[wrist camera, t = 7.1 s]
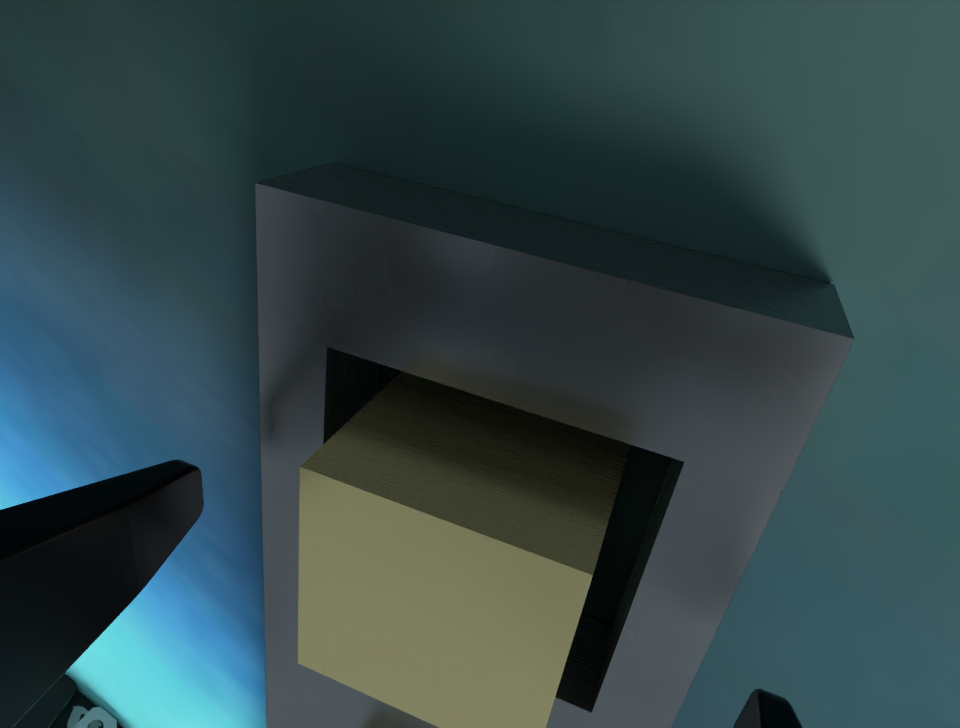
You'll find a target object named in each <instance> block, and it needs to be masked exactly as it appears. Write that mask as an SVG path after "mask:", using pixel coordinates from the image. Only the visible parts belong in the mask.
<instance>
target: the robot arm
mask: <svg viewBox="0 0 960 728" xmlns="http://www.w3.org/2000/svg"><path fill="white" fill-rule="evenodd" d="M203 504H204V502H203V489H202V476H201V471H200V470H199V468H198V467H197V466H194V465H192V464H189V463H187V462H184V461H182V460H172V461H168V462H165V463H161V464H158V465H154V466H151V467H147V468H144V469H140V470H137V471H133V472H130V473H127V474H123V475H120V476H116V477H113V478H109V479H106V480H102V481H99V482H95V483H92V484H89V485H85V486H82V487H78V488H75V489H71V490H68V491H64V492H61V493H57V494H54V495H50V496H47V497H44V498H40V499H37V500H33V501H30V502H26V503H23V504H19V505H16V506H12V507H9V508H5V509H2V510H0V728H13V727H14V726H15V725H16V724H17V723H18V721H19V720H20V719H21V718H22V717H23V716H24V715H25V714H26V713H27V712H28V711H29V710H30V709H31V708H32V707H33V706H34V705H35V703H36V702H37V701H38V700H39V699H40V698H41V697H42V696H43V695H44V694H45V693H46V692H47V691H48V690H49V689H50V688H51V687H52V686H53V684H54V683H55V682H56V681H57V680H58V679H59V678H60V677H61V676H62V675H63V674H64V673H65V672H66V671H67V670H68V669H69V668H70V666H71V665H72V664H73V663H74V662H75V661H76V660H77V659H78V658H79V657H80V656H81V655H82V654H83V653H84V652H85V651H86V650H87V649H88V647H89V646H90V645H91V644H92V643H93V642H94V641H95V640H96V639H97V638H98V637H99V636H100V635H101V634H102V633H103V632H104V631H105V629H106V628H107V627H108V626H109V625H110V624H111V623H112V622H113V621H114V620H115V619H116V618H117V617H118V616H119V615H120V614H121V613H122V611H123V610H124V609H125V608H126V607H127V606H128V605H129V604H130V603H131V602H132V601H133V600H134V599H135V597H136V596H137V595H138V594H139V593H140V592H141V591H142V589H143V588H144V587H145V586H146V585H147V583H148V582H149V581H150V580H151V579H152V577H153V576H154V575H155V573H156V572H157V571H158V570H159V568H160V567H161V566H162V564H163V563H164V562H165V561H166V559H167V558H168V557H169V555H170V554H171V553H172V552H173V550H174V549H175V548H176V547H177V545H178V544H179V543H180V541H181V540H182V539H183V538H184V536H185V535H186V534H187V532H188V531H189V530H190V529H191V527H192V526H193V525H194V523H195V522H196V521H197V520H198V518H199V516H200V515H201V512H202V510H203ZM733 728H802V726H801V724H800V722H799V720H798V718H797V716H796V714H795V712H794V710H793V708H792V706H791V704H790V703H789V702H788V701H787V700H786V699H785V698H783V697H780V696H778V695H775V694H773V693H770V692H767V691H765V690H762V689H755V690H754V691H753V692H752V693H751V695H750V697H749V699H748V700H747V702H746V704H745V706H744V708H743V710H742V711H741V713H740V715H739V717H738V719H737V721H736V722H735V725H734V727H733Z"/></svg>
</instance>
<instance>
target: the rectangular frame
mask: <svg viewBox="0 0 960 728" xmlns="http://www.w3.org/2000/svg"><path fill="white" fill-rule="evenodd" d="M255 198H256V245H257V293H258V340H259V388H260V435H261V483H262V530H263V577H264V625H265V672H266V720H267V728H439V727H437V726H434V725H432V724H430V723H428V722H426V721H423V720H421V719H419V718H417V717H415V716H412V715H410V714H408V713H406V712H404V711H402V710H399V709H397V708H395V707H393V706H391V705H388V704H386V703H384V702H382V701H380V700H377V699H375V698H373V697H371V696H369V695H366V694H364V693H362V692H360V691H358V690H355V689H353V688H351V687H349V686H347V685H345V684H342V683H340V682H338V681H336V680H334V679H331V678H329V677H327V676H325V675H323V674H320V673H318V672H316V671H314V670H312V669H309V668H307V667H305V666H303V665H301V664H298V593H299V491H300V466H301V465H302V464H303V463H304V462H305V461H306V460H307V459H308V458H310V457H311V456H312V455H313V454H314V453H315V452H316V451H317V450H318V449H319V448H320V447H321V446H322V445H323V444H325V443H326V442H327V441H328V440H329V439H330V438H331V437H332V436H333V435H334V434H335V433H336V432H337V431H338V430H339V429H341V428H342V427H343V426H344V425H345V424H346V423H347V422H348V421H349V420H350V419H351V418H352V417H353V416H354V415H356V414H357V413H358V412H359V411H360V410H361V409H362V408H363V407H364V406H365V405H366V404H367V403H368V402H369V401H371V400H372V399H373V398H374V397H375V396H376V395H377V394H378V393H379V392H380V384H381V372H382V365H385V366H388V367H391V368H394V369H397V370H401V371H404V372H407V373H410V374H413V375H416V376H419V377H422V378H425V379H428V380H432V381H435V382H438V383H441V384H444V385H447V386H450V387H453V388H456V389H460V390H463V391H466V392H469V393H472V394H475V395H478V396H481V397H484V398H488V399H491V400H494V401H497V402H500V403H503V404H506V405H509V406H512V407H515V408H519V409H522V410H525V411H528V412H531V413H534V414H537V415H540V416H543V417H547V418H550V419H553V420H556V421H559V422H562V423H565V424H568V425H571V426H575V427H578V428H581V429H584V430H587V431H590V432H593V433H596V434H599V435H603V436H606V437H609V438H612V439H615V440H618V441H621V442H624V443H627V444H630V445H634V446H637V447H640V448H643V449H646V450H649V451H652V452H655V453H658V454H662V455H665V456H668V457H671V458H672V460H671V462H670V465H669V468H668V471H667V474H666V476H665V479H664V482H663V485H662V488H661V490H660V493H659V496H658V499H657V502H656V504H655V507H654V510H653V513H652V516H651V518H650V521H649V524H648V527H647V530H646V532H645V535H644V538H643V541H642V544H641V546H640V549H639V552H638V555H637V558H636V560H635V563H634V566H633V569H632V572H631V574H630V577H629V580H628V583H627V586H626V588H625V591H624V594H623V597H622V600H621V602H620V605H619V608H618V611H617V614H616V616H615V619H614V622H613V625H612V627H611V626H608V625H606V624H603V623H601V622H598V621H596V620H593V619H591V618H588V617H586V616H583V615H580V619H579V622H578V625H577V628H576V632H575V635H574V638H573V641H572V644H571V648H570V651H569V654H568V657H567V661H566V664H565V667H564V670H563V673H562V677H561V680H560V683H559V686H558V690H557V693H556V696H555V699H554V703H553V706H552V709H551V712H550V715H549V719H548V722H547V725H546V728H671V726H672V724H673V722H674V720H675V717H676V715H677V713H678V711H679V709H680V707H681V705H682V703H683V700H684V698H685V696H686V694H687V692H688V690H689V688H690V686H691V684H692V681H693V679H694V677H695V675H696V673H697V671H698V669H699V667H700V665H701V662H702V660H703V658H704V656H705V654H706V652H707V650H708V648H709V646H710V643H711V641H712V639H713V637H714V635H715V633H716V631H717V629H718V627H719V624H720V622H721V620H722V618H723V616H724V614H725V612H726V610H727V607H728V605H729V603H730V601H731V599H732V597H733V595H734V593H735V591H736V588H737V586H738V584H739V582H740V580H741V578H742V576H743V574H744V572H745V569H746V567H747V565H748V563H749V561H750V559H751V557H752V555H753V553H754V550H755V548H756V546H757V544H758V542H759V540H760V538H761V536H762V534H763V531H764V529H765V527H766V525H767V523H768V521H769V519H770V517H771V514H772V512H773V510H774V508H775V506H776V504H777V502H778V500H779V498H780V495H781V493H782V491H783V489H784V487H785V485H786V483H787V481H788V479H789V476H790V474H791V472H792V470H793V468H794V466H795V464H796V462H797V460H798V457H799V455H800V453H801V451H802V449H803V447H804V445H805V443H806V441H807V438H808V436H809V434H810V432H811V430H812V428H813V426H814V424H815V421H816V419H817V417H818V415H819V413H820V411H821V409H822V407H823V405H824V402H825V400H826V398H827V396H828V394H829V392H830V390H831V388H832V386H833V383H834V381H835V379H836V377H837V375H838V373H839V371H840V369H841V367H842V364H843V362H844V360H845V358H846V356H847V354H848V352H849V350H850V348H851V345H852V343H853V341H854V336H853V334H852V331H851V328H850V326H849V323H848V320H847V318H846V315H845V312H844V310H843V307H842V304H841V302H840V299H839V296H838V294H837V291H836V288H835V286H834V285H833V284H829V283H825V282H821V281H817V280H812V279H808V278H804V277H800V276H796V275H792V274H788V273H784V272H780V271H775V270H771V269H767V268H763V267H759V266H755V265H751V264H747V263H743V262H738V261H734V260H730V259H726V258H722V257H718V256H714V255H710V254H706V253H701V252H697V251H693V250H689V249H685V248H681V247H677V246H673V245H669V244H664V243H660V242H656V241H652V240H648V239H644V238H640V237H636V236H632V235H627V234H623V233H619V232H615V231H611V230H607V229H603V228H599V227H594V226H590V225H586V224H582V223H578V222H574V221H570V220H566V219H562V218H557V217H553V216H549V215H545V214H541V213H537V212H533V211H529V210H525V209H520V208H516V207H512V206H508V205H504V204H500V203H496V202H492V201H488V200H483V199H479V198H475V197H471V196H467V195H463V194H459V193H455V192H451V191H446V190H442V189H438V188H434V187H430V186H426V185H422V184H418V183H414V182H409V181H405V180H401V179H397V178H393V177H389V176H385V175H381V174H377V173H372V172H368V171H364V170H360V169H356V168H352V167H348V166H344V165H340V164H335V163H327V164H323V165H320V166H316V167H312V168H309V169H305V170H301V171H298V172H294V173H290V174H287V175H283V176H279V177H276V178H272V179H268V180H265V181H261V182H257V183H255Z"/></svg>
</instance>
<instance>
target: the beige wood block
mask: <svg viewBox="0 0 960 728" xmlns="http://www.w3.org/2000/svg"><path fill="white" fill-rule="evenodd" d="M630 446H631V445H630V444H627V443H624V442H621V441H618V440H615V439H612V438H609V437H606V436H603V435H599V434H596V433H593V432H590V431H587V430H584V429H581V428H578V427H575V426H571V425H568V424H565V423H562V422H559V421H556V420H553V419H550V418H547V417H543V416H540V415H537V414H534V413H531V412H528V411H525V410H522V409H519V408H515V407H512V406H509V405H506V404H503V403H500V402H497V401H494V400H491V399H488V398H484V397H481V396H478V395H475V394H472V393H469V392H466V391H463V390H460V389H456V388H453V387H450V386H447V385H444V384H441V383H438V382H435V381H432V380H428V379H425V378H422V377H419V376H416V375H413V374H410V373H407V372H404V371H402V372H400V373H399V374H398V375H397V376H396V377H395V378H394V379H393V380H392V381H391V382H390V383H389V384H388V385H387V386H385V387H384V388H383V389H382V390H381V391H380V392H379V393H378V394H377V395H376V396H375V397H374V398H373V399H372V400H371V401H369V402H368V403H367V404H366V405H365V406H364V407H363V408H362V409H361V410H360V411H359V412H358V413H357V414H356V415H354V416H353V417H352V418H351V419H350V420H349V421H348V422H347V423H346V424H345V425H344V426H343V427H342V428H341V429H339V430H338V431H337V432H336V433H335V434H334V435H333V436H332V437H331V438H330V439H329V440H328V441H327V442H326V443H325V444H323V445H322V446H321V447H320V448H319V449H318V450H317V451H316V452H315V453H314V454H313V455H312V456H311V457H310V458H308V459H307V460H306V461H305V462H304V463H303V464H302V465H301V466H300V491H299V593H298V664H301V665H303V666H305V667H307V668H309V669H312V670H314V671H316V672H318V673H320V674H323V675H325V676H327V677H329V678H331V679H334V680H336V681H338V682H340V683H342V684H345V685H347V686H349V687H351V688H353V689H355V690H358V691H360V692H362V693H364V694H366V695H369V696H371V697H373V698H375V699H377V700H380V701H382V702H384V703H386V704H388V705H391V706H393V707H395V708H397V709H399V710H402V711H404V712H406V713H408V714H410V715H412V716H415V717H417V718H419V719H421V720H423V721H426V722H428V723H430V724H432V725H434V726H437V727H439V728H546V725H547V722H548V719H549V715H550V712H551V709H552V706H553V703H554V699H555V696H556V693H557V690H558V686H559V683H560V680H561V677H562V673H563V670H564V667H565V664H566V661H567V657H568V654H569V651H570V648H571V644H572V641H573V638H574V635H575V632H576V628H577V625H578V622H579V619H580V615H581V612H582V609H583V606H584V603H585V599H586V596H587V593H588V590H589V586H590V583H591V580H592V577H593V573H594V570H595V566H596V563H597V560H598V556H599V553H600V549H601V546H602V542H603V539H604V535H605V532H606V529H607V525H608V522H609V518H610V515H611V511H612V508H613V504H614V501H615V497H616V494H617V491H618V487H619V484H620V480H621V477H622V473H623V470H624V466H625V463H626V459H627V456H628V453H629V449H630Z"/></svg>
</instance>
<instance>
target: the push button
mask: <svg viewBox="0 0 960 728" xmlns="http://www.w3.org/2000/svg"><path fill="white" fill-rule="evenodd" d="M13 728H121V727H120V726H119V725H118V724H117V720H116V719H114V718H113V717H112V716H111V715H110V714H108V713H107V712H106V711H105V710H104V709H102V708H101V707H96V706H95V705H94V704H93V703H92V702H91V701H89V700H88V699H87V698H86V697H85V696H83V695H82V694H81V693H80V692H79V691H77V690H76V684H75V683H74V682H73V681H72V680H71V679H70V678H69V677H67V676H66V675H65V674H63V675H62V676H61V677H60V678H59V679H58V680H57V681H56V682H55V683H54V684H53V686H52V687H51V688H50V689H49V690H48V691H47V692H46V693H45V694H44V695H43V696H42V697H41V698H40V699H39V700H38V701H37V702H36V703H35V705H34V706H33V707H32V708H31V709H30V710H29V711H28V712H27V713H26V714H25V715H24V716H23V717H22V718H21V719H20V720H19V721H18V723H17V724H16V725H15V726H14V727H13Z"/></svg>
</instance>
